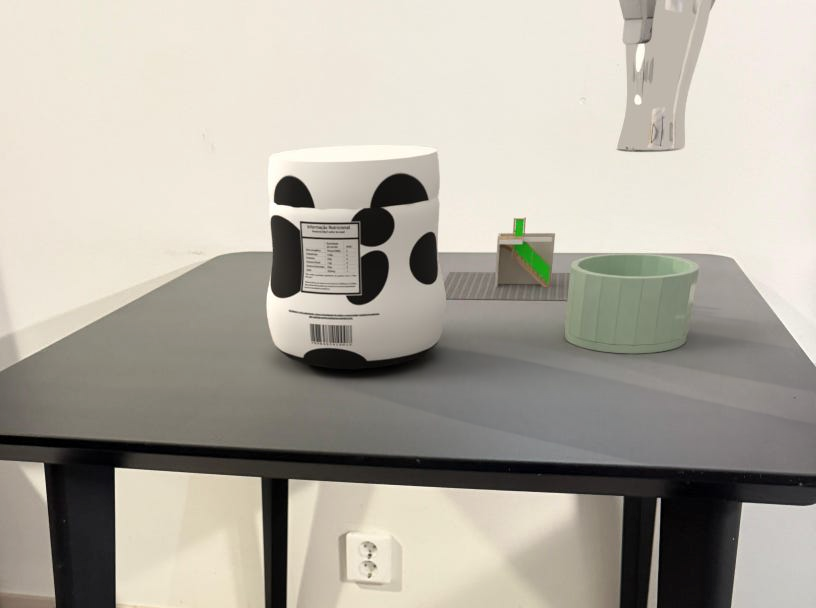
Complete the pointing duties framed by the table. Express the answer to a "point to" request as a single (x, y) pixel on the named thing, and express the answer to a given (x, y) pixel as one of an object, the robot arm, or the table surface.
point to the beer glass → (662, 76)
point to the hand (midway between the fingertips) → (663, 42)
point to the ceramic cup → (630, 302)
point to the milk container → (355, 255)
